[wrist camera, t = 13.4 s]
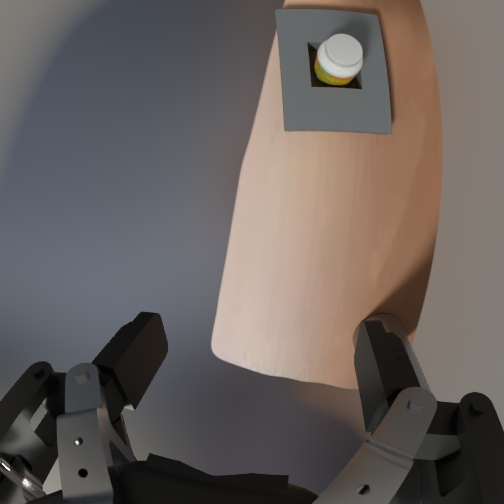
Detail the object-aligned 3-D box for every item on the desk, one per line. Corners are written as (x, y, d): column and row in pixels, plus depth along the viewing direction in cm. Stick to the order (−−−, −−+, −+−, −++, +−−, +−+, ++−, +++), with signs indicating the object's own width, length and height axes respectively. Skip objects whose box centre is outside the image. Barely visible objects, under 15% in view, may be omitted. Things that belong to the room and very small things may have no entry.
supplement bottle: (307, 78, 32) (311, 57, 23) (321, 48, 30) (329, 20, 21) (344, 95, 32) (359, 79, 23) (357, 65, 30) (375, 42, 21)
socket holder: (384, 134, 33) (391, 133, 30) (285, 131, 35) (284, 129, 32) (372, 22, 26) (377, 15, 24) (276, 18, 29) (275, 9, 26)
